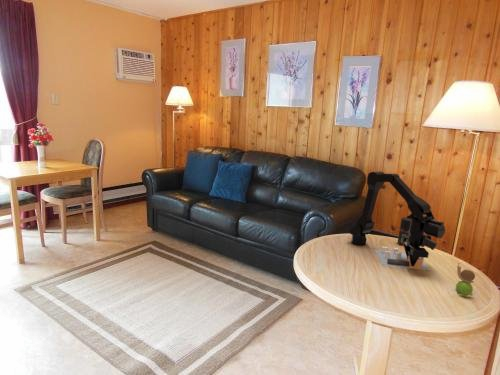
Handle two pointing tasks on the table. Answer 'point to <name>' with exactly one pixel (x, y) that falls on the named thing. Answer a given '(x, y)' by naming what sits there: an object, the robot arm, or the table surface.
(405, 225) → the deodorant
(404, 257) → the board
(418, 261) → the plug
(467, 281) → the snail figurine
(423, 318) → the table surface
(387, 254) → the clips
